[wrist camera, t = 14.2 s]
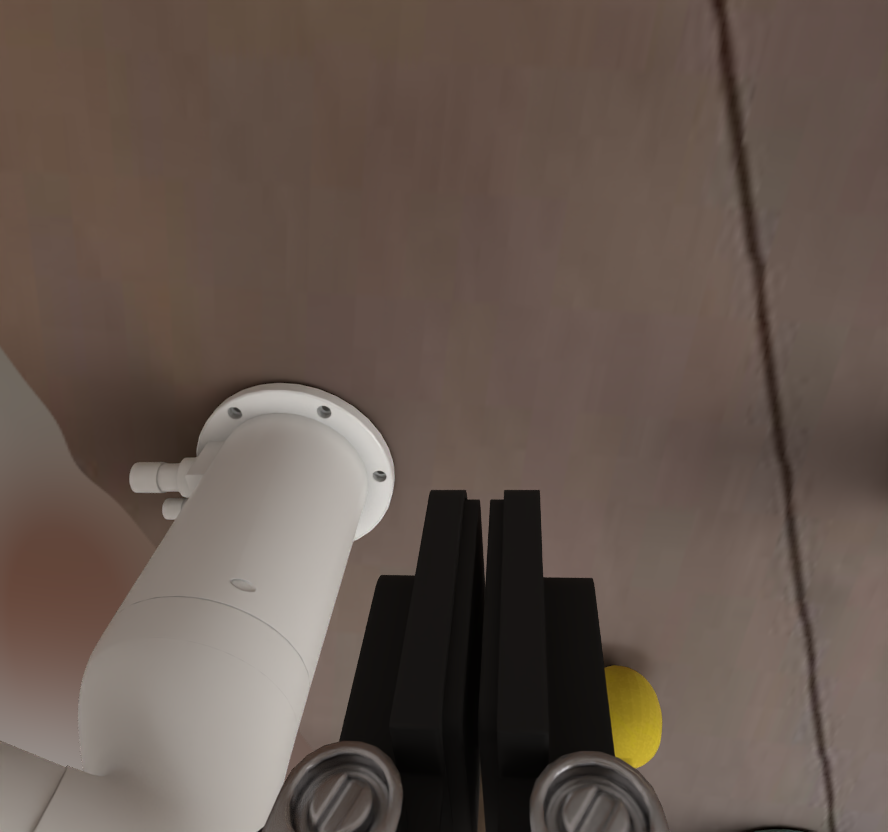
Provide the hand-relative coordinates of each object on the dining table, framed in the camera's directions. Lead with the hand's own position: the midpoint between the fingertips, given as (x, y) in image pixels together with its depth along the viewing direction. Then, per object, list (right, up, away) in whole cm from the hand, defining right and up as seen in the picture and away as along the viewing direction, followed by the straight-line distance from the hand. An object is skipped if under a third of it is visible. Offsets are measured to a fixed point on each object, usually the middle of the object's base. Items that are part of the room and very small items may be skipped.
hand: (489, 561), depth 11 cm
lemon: (+12, -17, +42) cm, 47 cm away
